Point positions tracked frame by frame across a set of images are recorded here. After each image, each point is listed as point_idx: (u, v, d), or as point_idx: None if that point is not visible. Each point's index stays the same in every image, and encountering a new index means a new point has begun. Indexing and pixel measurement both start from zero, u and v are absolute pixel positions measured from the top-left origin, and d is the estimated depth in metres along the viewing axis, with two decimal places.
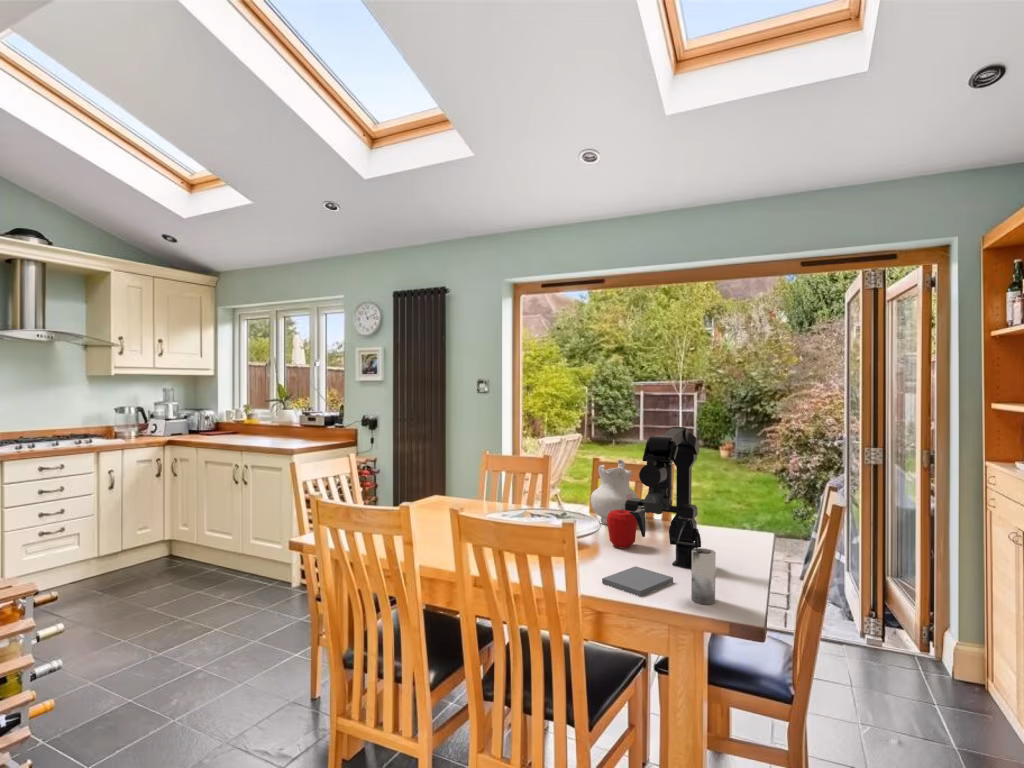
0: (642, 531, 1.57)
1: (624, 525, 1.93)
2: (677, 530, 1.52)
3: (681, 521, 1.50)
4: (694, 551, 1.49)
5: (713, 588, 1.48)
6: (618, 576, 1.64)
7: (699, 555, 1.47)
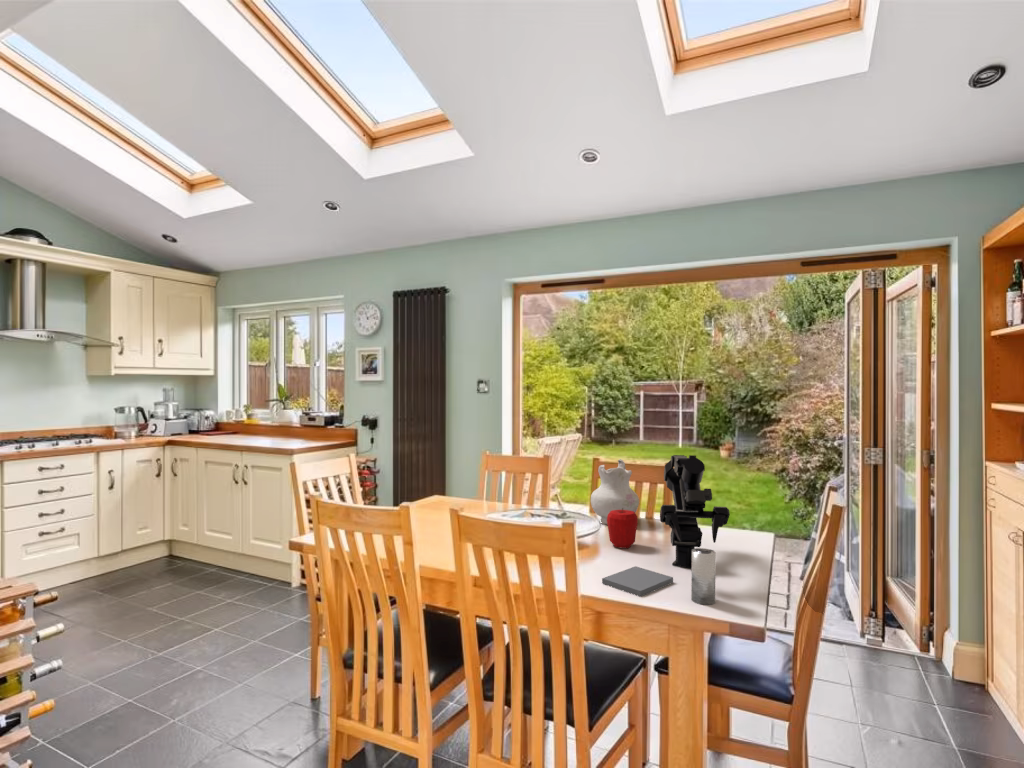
0: (679, 533, 1.59)
1: (624, 525, 1.93)
2: (715, 529, 1.58)
3: (719, 518, 1.59)
4: (694, 551, 1.49)
5: (713, 588, 1.48)
6: (618, 576, 1.64)
7: (699, 555, 1.47)
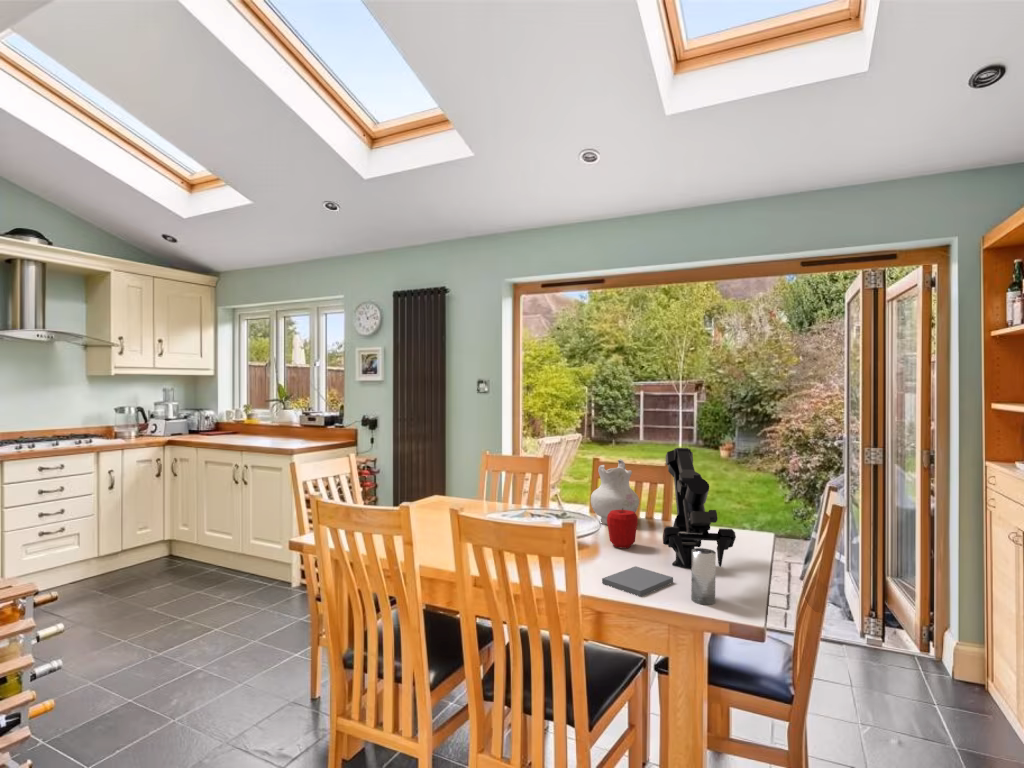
0: (683, 557, 1.52)
1: (624, 525, 1.93)
2: (720, 552, 1.52)
3: (724, 541, 1.53)
4: (694, 551, 1.49)
5: (713, 588, 1.48)
6: (618, 576, 1.64)
7: (699, 555, 1.47)
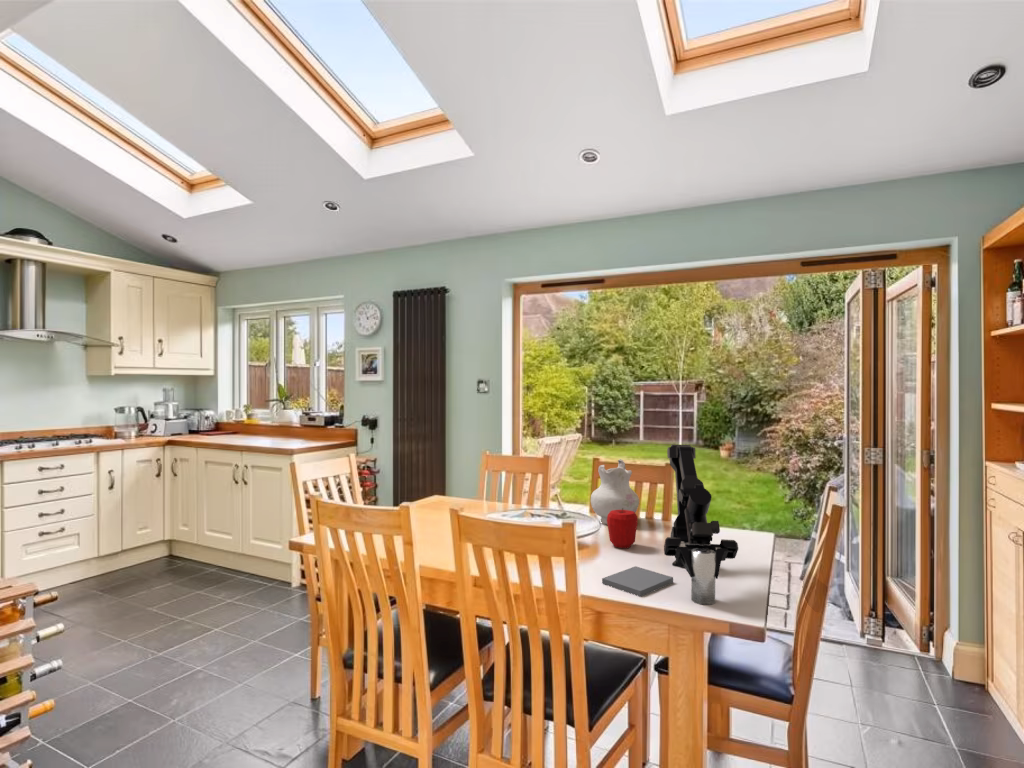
0: (691, 569, 1.49)
1: (624, 525, 1.93)
2: (717, 564, 1.49)
3: (721, 552, 1.50)
4: (694, 551, 1.49)
5: (713, 588, 1.48)
6: (618, 576, 1.64)
7: (699, 555, 1.47)
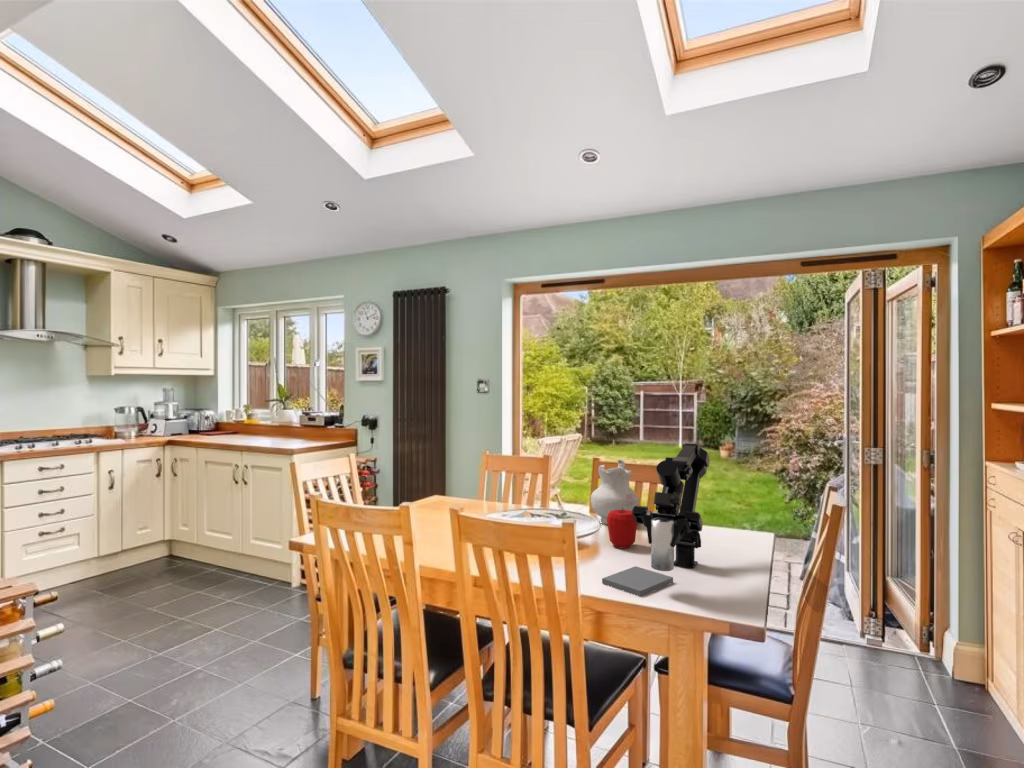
0: (649, 536, 1.57)
1: (624, 525, 1.93)
2: (675, 533, 1.54)
3: (681, 523, 1.54)
4: (652, 519, 1.56)
5: (668, 556, 1.53)
6: (618, 576, 1.64)
7: (654, 523, 1.54)
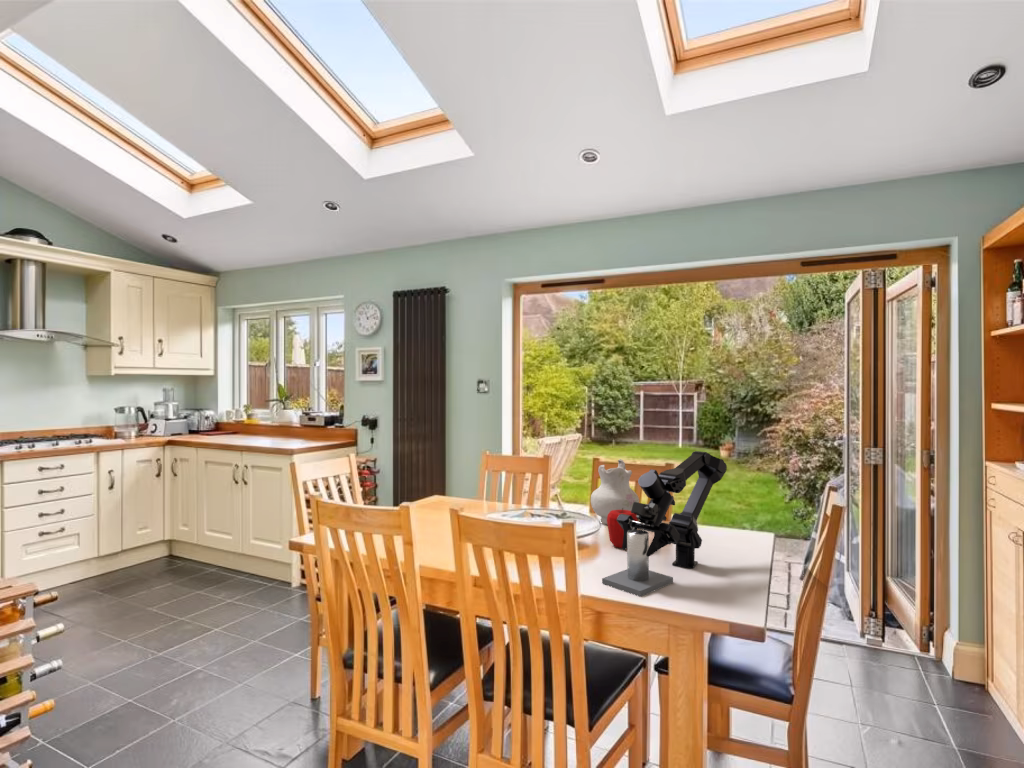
0: (624, 542, 1.65)
1: None
2: (651, 543, 1.59)
3: (658, 534, 1.59)
4: (629, 531, 1.64)
5: (640, 567, 1.59)
6: (618, 576, 1.64)
7: (628, 534, 1.62)
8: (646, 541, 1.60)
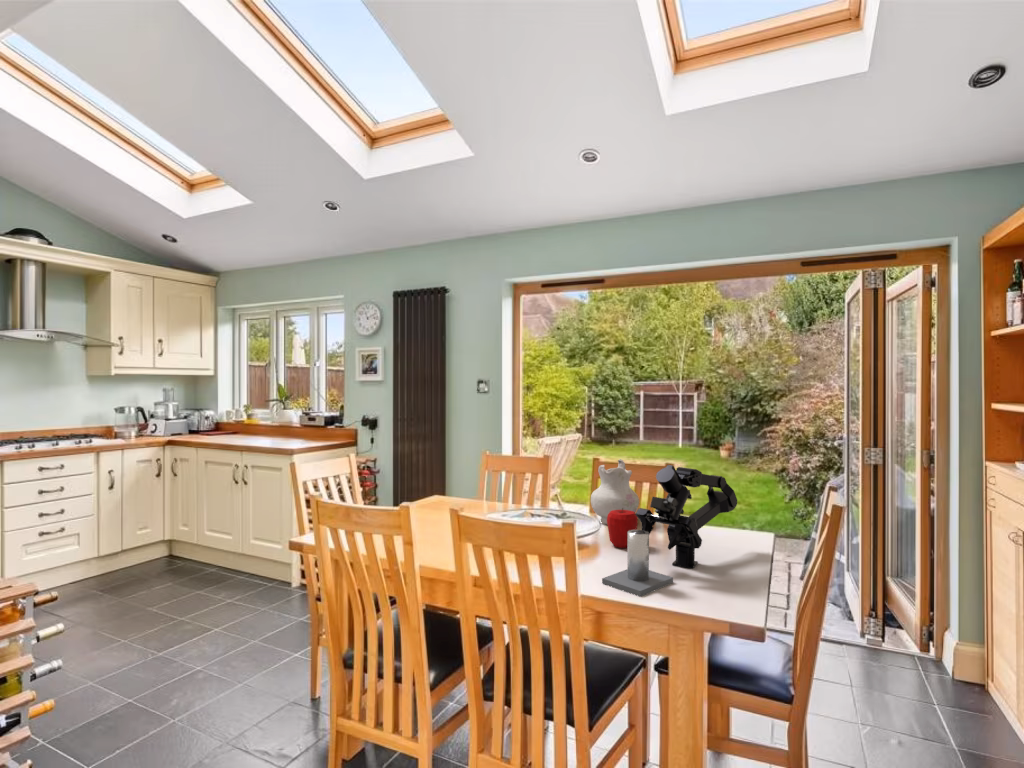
0: None
1: (624, 525, 1.93)
2: (672, 537, 1.65)
3: (678, 527, 1.65)
4: (629, 531, 1.64)
5: (640, 567, 1.60)
6: (618, 576, 1.64)
7: (628, 534, 1.62)
8: (646, 541, 1.60)
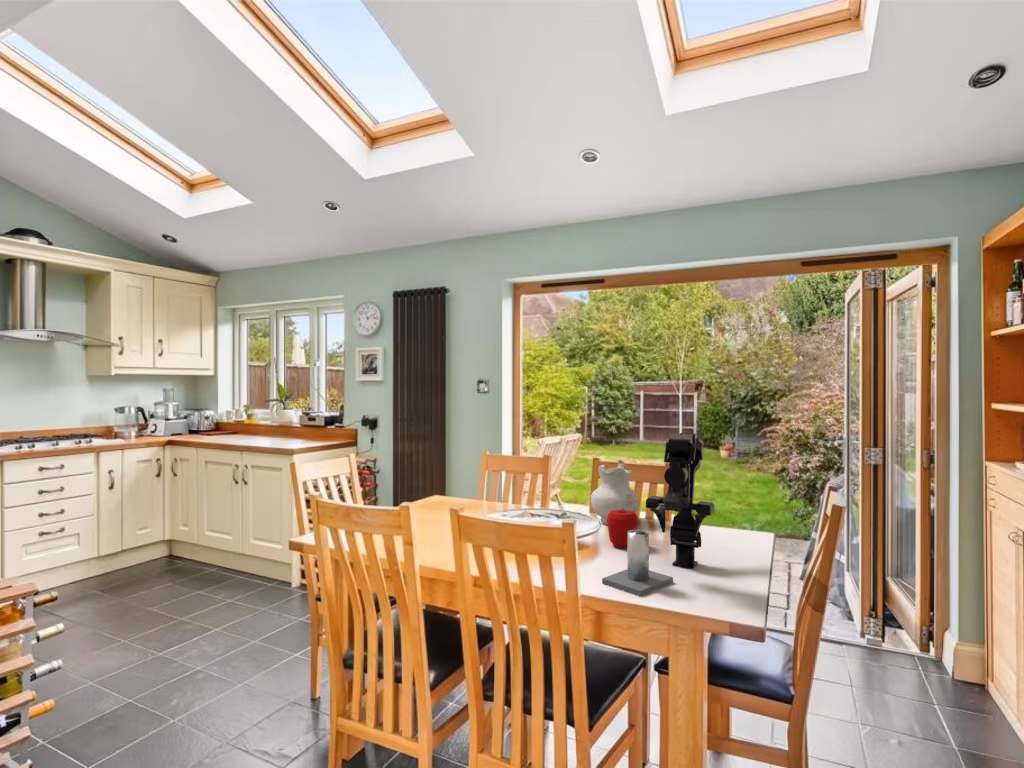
0: (662, 527, 1.68)
1: (624, 525, 1.93)
2: (695, 526, 1.62)
3: (699, 518, 1.61)
4: (629, 531, 1.64)
5: (640, 567, 1.60)
6: (618, 576, 1.64)
7: (628, 534, 1.62)
8: (646, 541, 1.60)
